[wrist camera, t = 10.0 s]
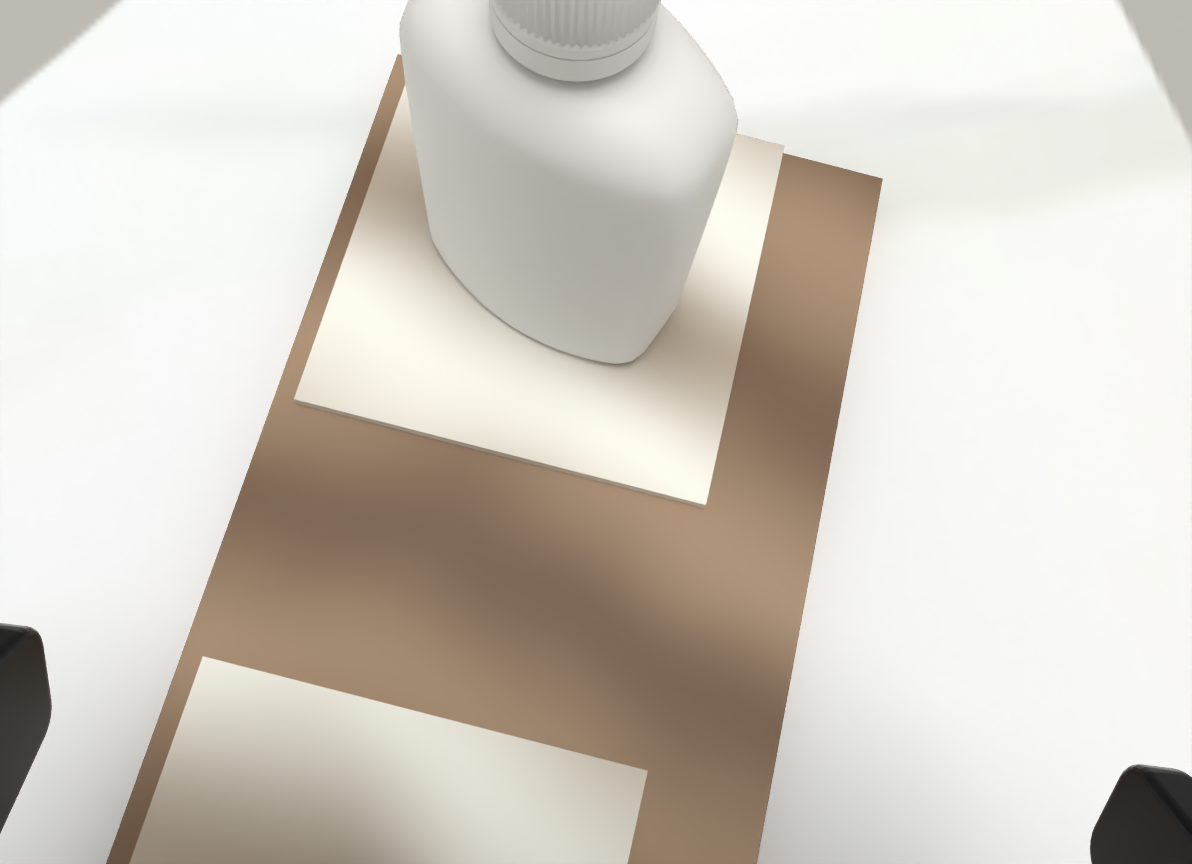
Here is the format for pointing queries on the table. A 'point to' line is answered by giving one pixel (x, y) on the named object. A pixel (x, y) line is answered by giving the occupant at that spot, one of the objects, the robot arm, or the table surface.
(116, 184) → the table surface
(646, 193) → the eye dropper bottle
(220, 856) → the board
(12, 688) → the robot arm
